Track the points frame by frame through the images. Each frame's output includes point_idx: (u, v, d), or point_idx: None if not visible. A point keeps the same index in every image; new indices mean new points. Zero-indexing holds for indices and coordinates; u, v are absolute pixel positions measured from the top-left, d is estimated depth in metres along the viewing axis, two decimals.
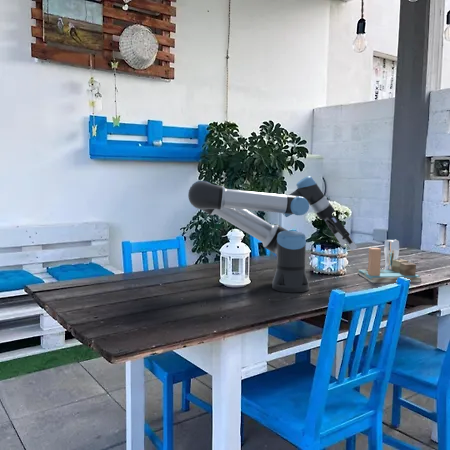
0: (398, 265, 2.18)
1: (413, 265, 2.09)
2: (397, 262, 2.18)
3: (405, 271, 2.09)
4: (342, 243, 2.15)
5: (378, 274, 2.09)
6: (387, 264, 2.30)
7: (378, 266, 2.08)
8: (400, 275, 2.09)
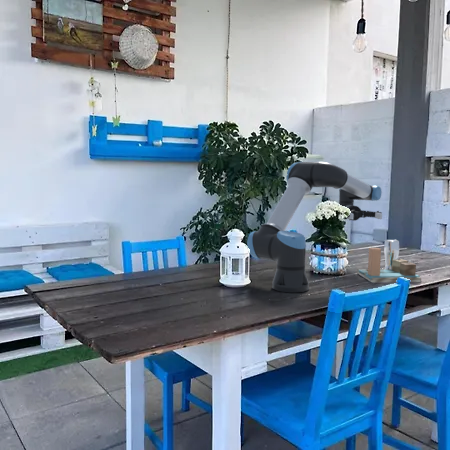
0: (398, 265, 2.18)
1: (413, 265, 2.09)
2: (397, 262, 2.18)
3: (405, 271, 2.09)
4: None
5: (378, 274, 2.09)
6: (387, 264, 2.30)
7: (378, 266, 2.08)
8: (400, 275, 2.09)
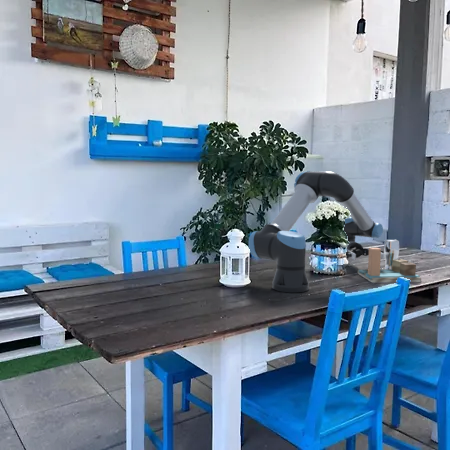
0: (398, 265, 2.18)
1: (413, 265, 2.09)
2: (397, 262, 2.18)
3: (405, 271, 2.09)
4: None
5: (378, 274, 2.09)
6: (387, 264, 2.30)
7: (378, 266, 2.08)
8: (400, 275, 2.09)
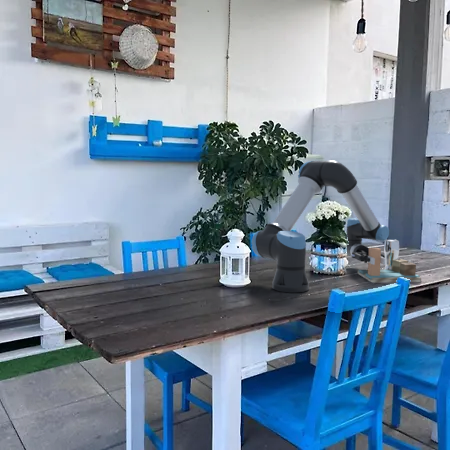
0: (398, 265, 2.18)
1: (413, 265, 2.09)
2: (397, 262, 2.18)
3: (405, 271, 2.09)
4: None
5: (378, 274, 2.09)
6: (387, 264, 2.30)
7: (378, 266, 2.08)
8: (400, 275, 2.09)
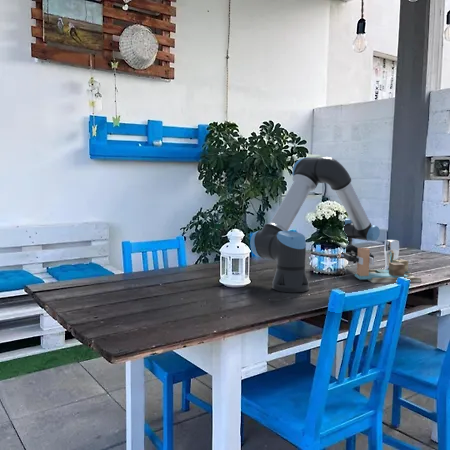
0: None
1: (402, 265, 2.08)
2: (397, 262, 2.18)
3: (394, 271, 2.08)
4: None
5: (367, 274, 2.08)
6: (387, 264, 2.30)
7: (367, 266, 2.08)
8: (389, 275, 2.09)
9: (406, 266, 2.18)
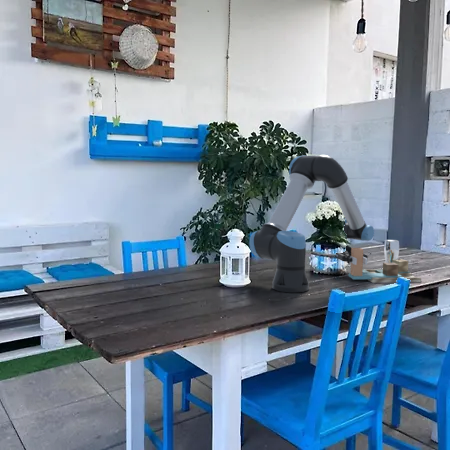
0: (398, 265, 2.18)
1: (395, 265, 2.08)
2: (397, 262, 2.18)
3: (387, 271, 2.08)
4: None
5: (360, 274, 2.08)
6: None
7: (360, 266, 2.08)
8: (382, 275, 2.09)
9: (406, 266, 2.18)
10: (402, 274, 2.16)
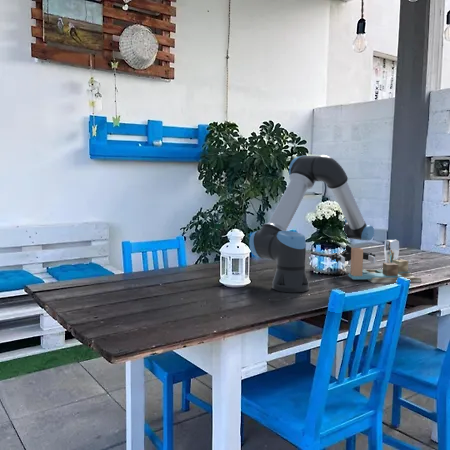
0: (398, 265, 2.18)
1: (395, 265, 2.08)
2: (397, 262, 2.18)
3: (387, 271, 2.08)
4: None
5: (360, 274, 2.08)
6: None
7: (360, 266, 2.08)
8: (382, 275, 2.09)
9: (406, 266, 2.18)
10: (402, 274, 2.16)
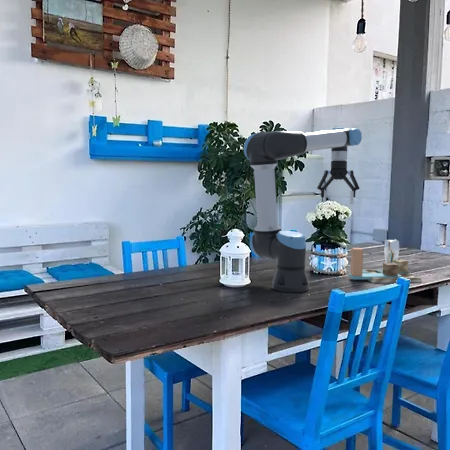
0: (398, 265, 2.18)
1: (395, 265, 2.08)
2: (397, 262, 2.18)
3: (387, 271, 2.08)
4: None
5: (360, 274, 2.08)
6: None
7: (360, 266, 2.08)
8: (382, 275, 2.09)
9: (406, 266, 2.18)
10: (402, 274, 2.16)
